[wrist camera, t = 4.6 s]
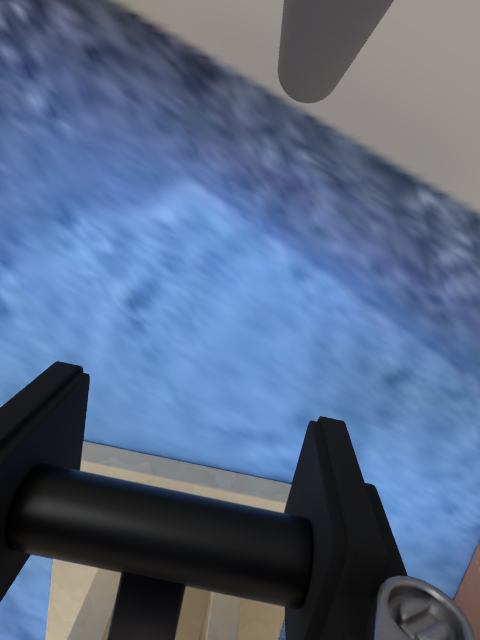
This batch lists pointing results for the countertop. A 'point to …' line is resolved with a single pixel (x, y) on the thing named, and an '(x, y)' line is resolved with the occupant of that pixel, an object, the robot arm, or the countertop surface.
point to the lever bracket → (198, 605)
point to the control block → (471, 593)
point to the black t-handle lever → (160, 544)
